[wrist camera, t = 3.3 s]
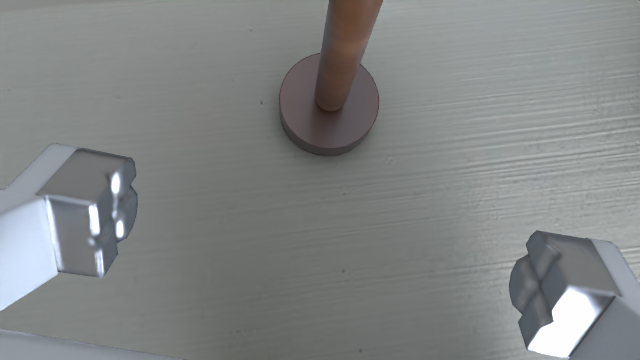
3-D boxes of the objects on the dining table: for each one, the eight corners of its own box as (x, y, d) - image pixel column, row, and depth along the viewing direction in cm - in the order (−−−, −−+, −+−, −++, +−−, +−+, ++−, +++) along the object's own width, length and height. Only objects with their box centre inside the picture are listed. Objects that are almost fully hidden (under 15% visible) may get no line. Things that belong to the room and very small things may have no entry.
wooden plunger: (271, 146, 29) (237, -117, 9) (288, 58, 30) (292, -364, 10) (365, 163, 30) (541, -57, 9) (379, 74, 31) (566, -305, 10)
